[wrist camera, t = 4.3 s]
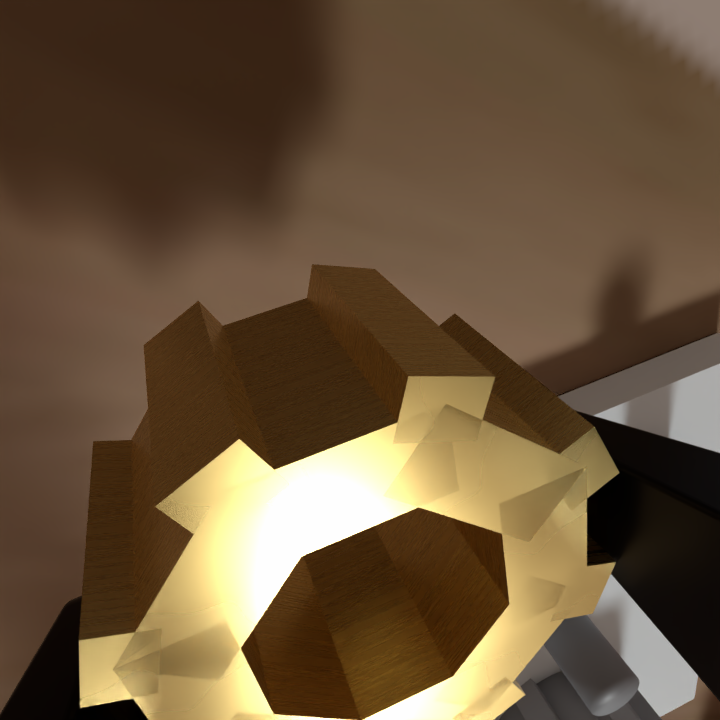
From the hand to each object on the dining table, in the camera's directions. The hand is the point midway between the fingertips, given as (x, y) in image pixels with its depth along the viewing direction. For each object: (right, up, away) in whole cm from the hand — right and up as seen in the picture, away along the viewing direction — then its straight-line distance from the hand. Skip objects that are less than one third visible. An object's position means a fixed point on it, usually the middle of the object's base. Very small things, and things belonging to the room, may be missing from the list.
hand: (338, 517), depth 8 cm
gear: (0, +1, +1) cm, 1 cm away
